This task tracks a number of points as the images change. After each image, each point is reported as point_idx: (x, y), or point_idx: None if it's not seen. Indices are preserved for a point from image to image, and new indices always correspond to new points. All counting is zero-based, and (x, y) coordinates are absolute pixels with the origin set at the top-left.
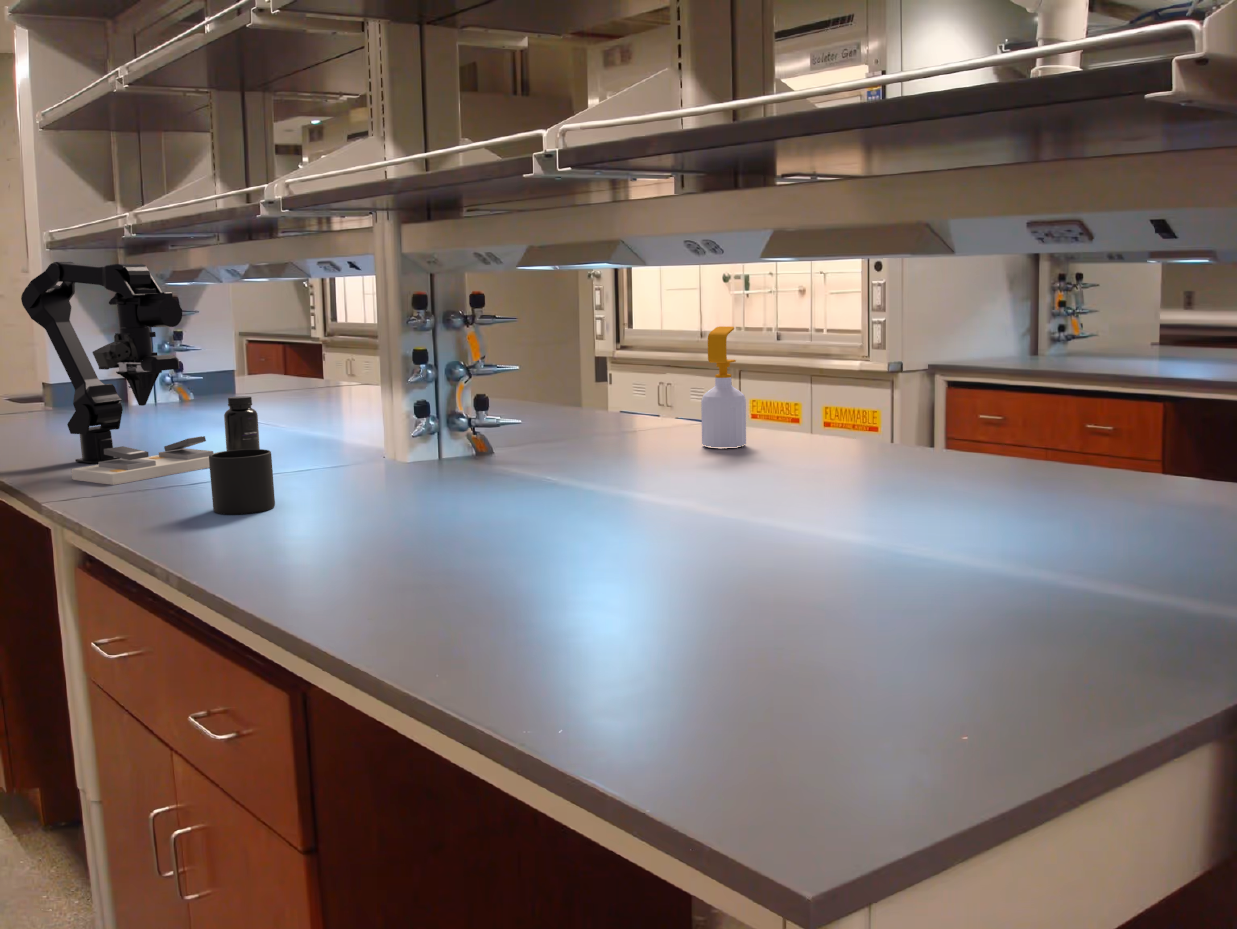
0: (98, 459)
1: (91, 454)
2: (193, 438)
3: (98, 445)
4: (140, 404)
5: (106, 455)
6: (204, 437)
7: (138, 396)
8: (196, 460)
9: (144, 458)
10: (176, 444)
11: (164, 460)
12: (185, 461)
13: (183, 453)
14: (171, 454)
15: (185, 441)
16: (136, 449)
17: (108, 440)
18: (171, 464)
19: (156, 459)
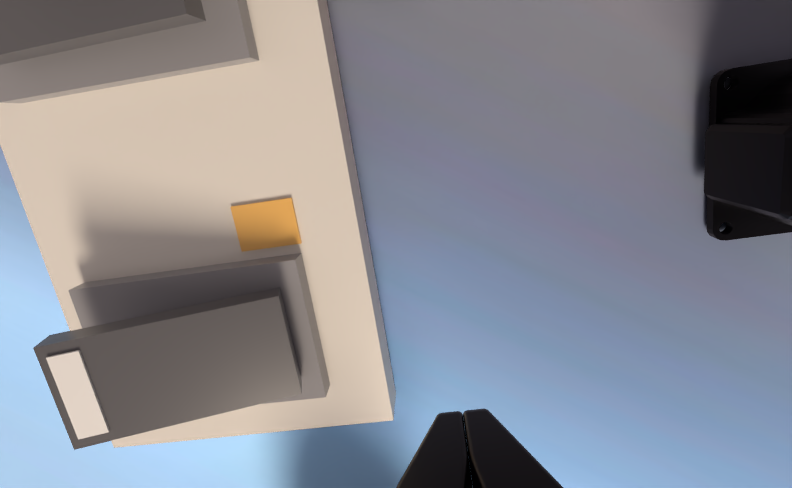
0: (728, 113)
1: (789, 87)
2: (50, 382)
3: (783, 120)
4: (443, 414)
5: (716, 155)
6: (75, 441)
7: (446, 477)
8: (63, 304)
9: (309, 182)
10: (158, 317)
11: (154, 208)
12: (44, 251)
13: (148, 310)
14: (194, 272)
15: (65, 337)
16: (46, 39)
17: (777, 188)
18: (13, 173)
19: (222, 202)
